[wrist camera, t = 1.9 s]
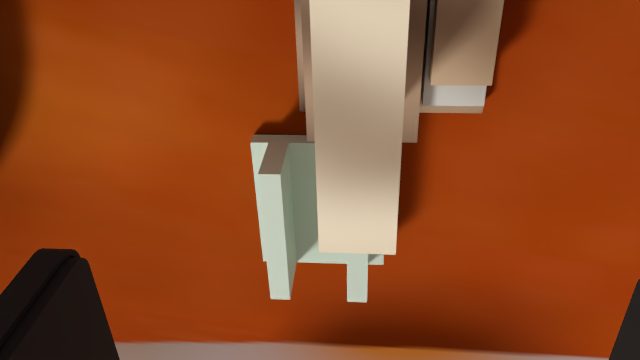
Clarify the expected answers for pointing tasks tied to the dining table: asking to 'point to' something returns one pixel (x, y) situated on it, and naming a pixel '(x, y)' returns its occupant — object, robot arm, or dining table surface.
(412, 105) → the rack
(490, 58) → the offcut stack
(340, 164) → the birch board
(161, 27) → the dining table surface
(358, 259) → the slotted stand
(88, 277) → the robot arm
